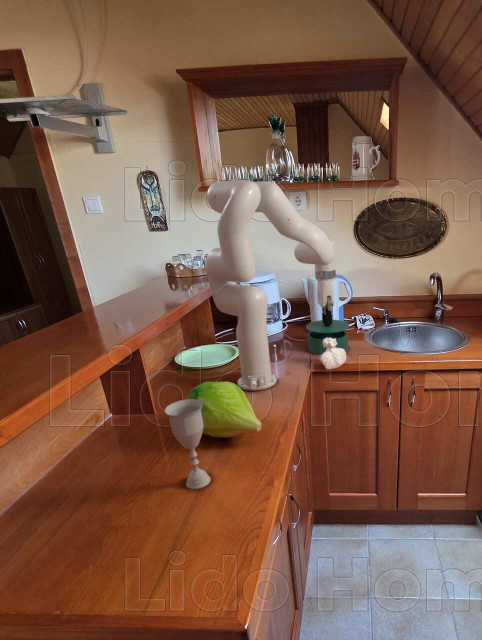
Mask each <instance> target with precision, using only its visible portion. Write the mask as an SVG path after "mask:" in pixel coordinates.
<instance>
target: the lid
mask: <svg viewBox="0 0 482 640" xmlns="http://www.w3.org/2000/svg"><path fill="white" fill-rule="evenodd" d="M349 328H350V324H349V322H347V321H344V320H339V319H332V325H324V323H323V322H322V319H321V320H315V321H311V322H308V323H307V324H306V325H305V329H306V330H307V331H309V332H315V333H335V332H340V331H346V330H348V329H349Z"/></svg>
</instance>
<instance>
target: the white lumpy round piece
mask: <svg viewBox="0 0 482 640" xmlns="http://www.w3.org/2000/svg"><path fill="white" fill-rule="evenodd" d="M336 345H337V342H336V338H335V339H332V338H325V339H324V340H323V346H324V348H325V347H326V352H324V353H323V354H322V355H320V358H319V361H320V363H321V364H322V365H323V367H324V369H325V370H332V369H336V368H339V367H341V366H343V365H344V363H346V361H347V351H346V352H345V350H344V349H342V348H335V346H336Z"/></svg>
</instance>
